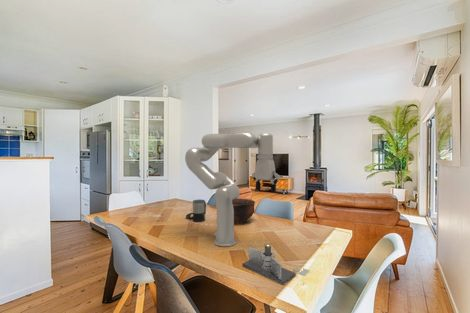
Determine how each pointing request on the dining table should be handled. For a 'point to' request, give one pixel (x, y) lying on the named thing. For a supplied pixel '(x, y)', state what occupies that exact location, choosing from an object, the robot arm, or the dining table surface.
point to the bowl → (242, 210)
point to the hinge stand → (257, 267)
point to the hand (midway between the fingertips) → (265, 190)
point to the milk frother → (198, 211)
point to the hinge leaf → (273, 267)
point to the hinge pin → (267, 249)
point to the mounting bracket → (301, 271)
